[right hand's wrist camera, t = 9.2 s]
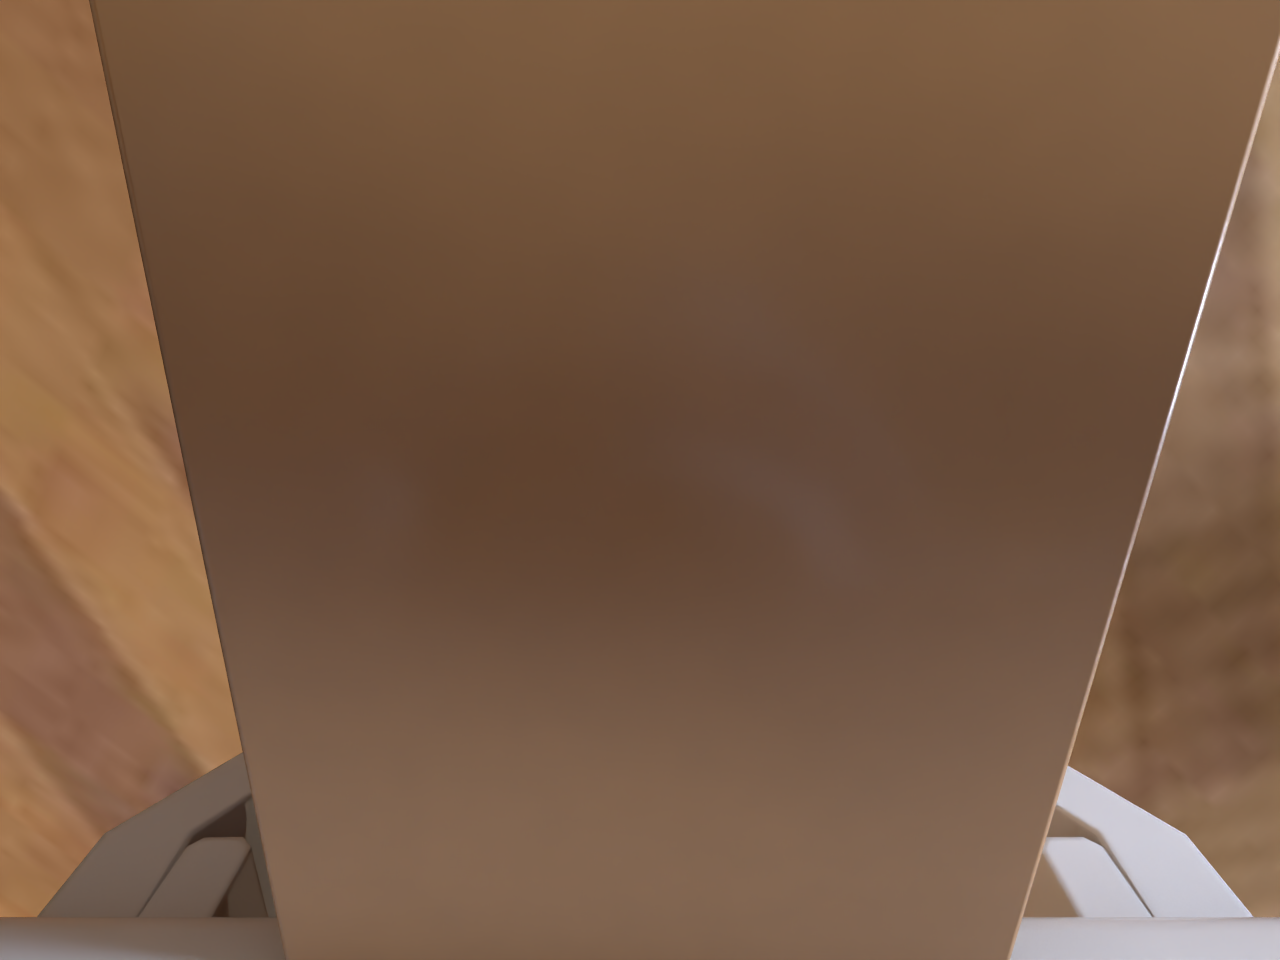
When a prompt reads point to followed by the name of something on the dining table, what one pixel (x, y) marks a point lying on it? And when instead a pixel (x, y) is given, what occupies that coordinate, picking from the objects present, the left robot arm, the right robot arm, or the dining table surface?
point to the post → (671, 440)
